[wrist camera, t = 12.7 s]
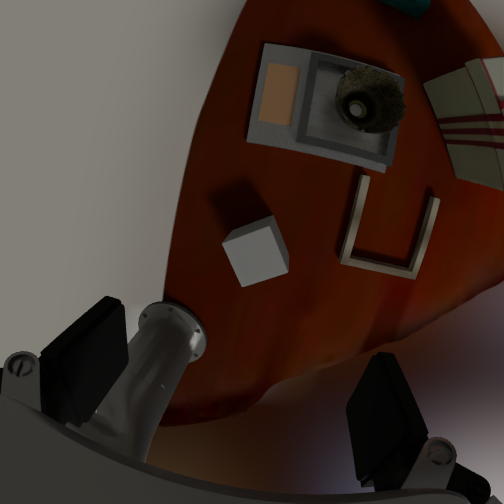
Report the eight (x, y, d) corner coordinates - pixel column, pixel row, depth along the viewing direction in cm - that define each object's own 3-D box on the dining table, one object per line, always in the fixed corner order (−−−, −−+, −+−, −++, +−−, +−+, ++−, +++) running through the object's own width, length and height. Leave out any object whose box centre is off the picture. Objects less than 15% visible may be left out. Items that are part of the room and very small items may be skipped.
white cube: (249, 268, 40) (241, 287, 34) (232, 230, 38) (221, 243, 33) (289, 254, 38) (288, 272, 33) (273, 214, 37) (269, 225, 31)
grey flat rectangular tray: (382, 172, 33) (389, 174, 30) (247, 142, 34) (243, 140, 31) (397, 77, 28) (405, 71, 25) (265, 45, 29) (263, 37, 26)
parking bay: (411, 275, 37) (415, 279, 35) (338, 259, 37) (340, 263, 36) (435, 197, 32) (440, 199, 31) (360, 173, 33) (362, 174, 32)
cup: (389, 97, 28) (413, 84, 21) (374, 147, 31) (396, 145, 23) (336, 74, 28) (347, 53, 21) (319, 124, 31) (327, 115, 24)
